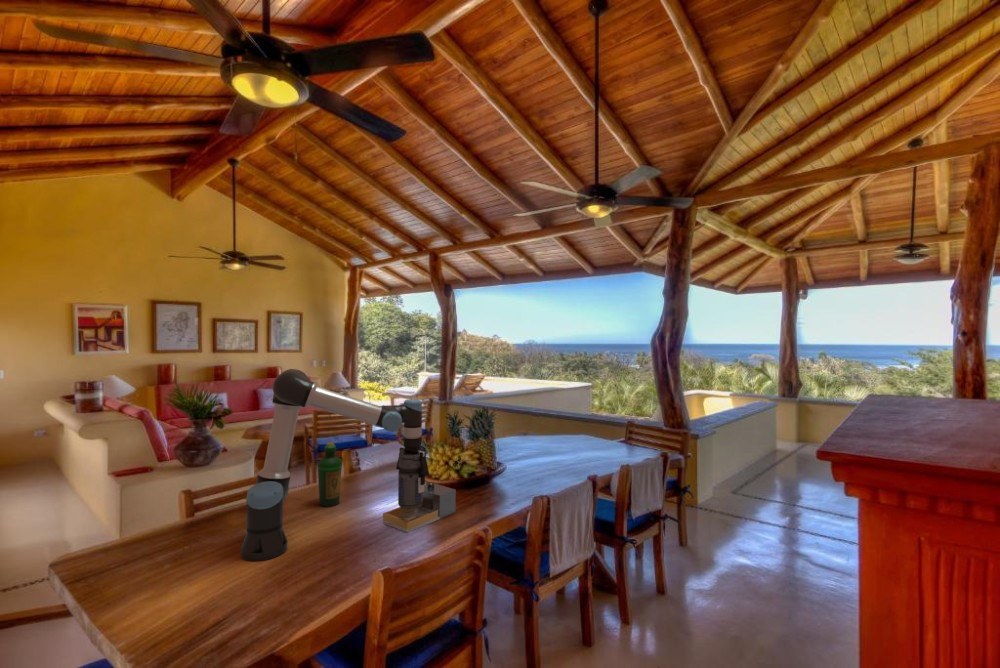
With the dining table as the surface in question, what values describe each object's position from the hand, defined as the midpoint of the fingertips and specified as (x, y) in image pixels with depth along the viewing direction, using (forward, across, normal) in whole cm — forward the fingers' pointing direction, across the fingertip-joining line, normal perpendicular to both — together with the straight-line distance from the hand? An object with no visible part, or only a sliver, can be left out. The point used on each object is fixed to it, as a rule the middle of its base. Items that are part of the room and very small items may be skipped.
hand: (412, 489), depth 201 cm
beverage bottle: (+7, 0, 0) cm, 7 cm away
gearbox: (+13, 0, -5) cm, 14 cm away
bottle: (+13, +44, +10) cm, 47 cm away
